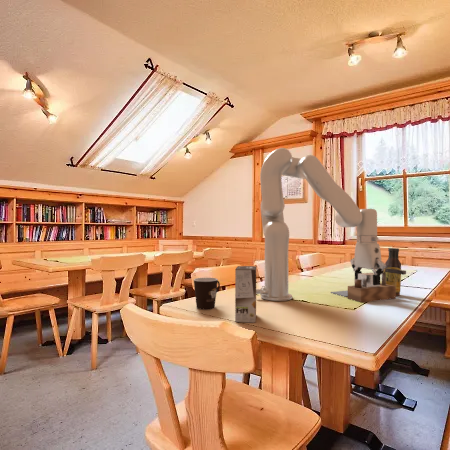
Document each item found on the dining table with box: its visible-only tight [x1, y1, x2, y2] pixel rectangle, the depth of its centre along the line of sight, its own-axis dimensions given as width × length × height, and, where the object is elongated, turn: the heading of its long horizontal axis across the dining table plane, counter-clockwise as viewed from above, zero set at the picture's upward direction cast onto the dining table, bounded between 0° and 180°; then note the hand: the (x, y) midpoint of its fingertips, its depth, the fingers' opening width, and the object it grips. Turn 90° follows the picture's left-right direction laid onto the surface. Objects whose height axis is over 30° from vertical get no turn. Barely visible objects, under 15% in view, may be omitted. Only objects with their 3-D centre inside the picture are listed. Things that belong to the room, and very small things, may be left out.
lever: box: [383, 268, 407, 276], centre depth 130 cm, size 10×3×1 cm, turn 28°
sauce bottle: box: [385, 247, 402, 297], centre depth 138 cm, size 6×6×20 cm
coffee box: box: [234, 265, 257, 323], centre depth 103 cm, size 9×6×16 cm
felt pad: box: [330, 289, 348, 298], centre depth 140 cm, size 12×9×1 cm
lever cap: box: [358, 272, 380, 288], centre depth 130 cm, size 7×4×5 cm, turn 112°
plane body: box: [347, 272, 397, 303], centre depth 131 cm, size 18×7×10 cm, turn 112°
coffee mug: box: [193, 277, 221, 311], centre depth 117 cm, size 12×9×10 cm
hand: (367, 282), depth 130 cm, fingers open, 9 cm apart
